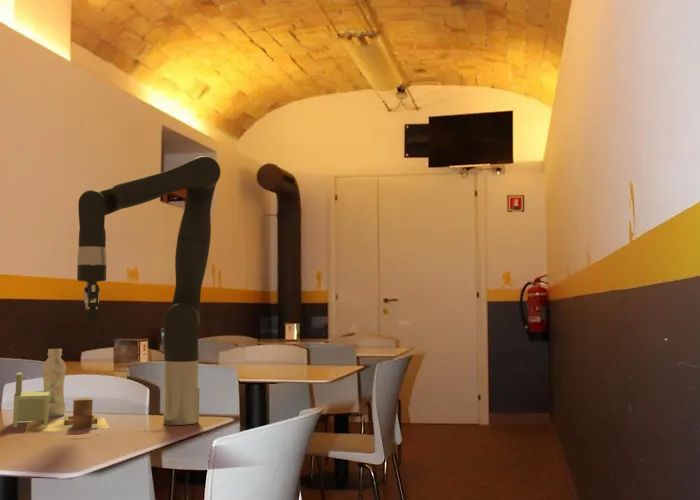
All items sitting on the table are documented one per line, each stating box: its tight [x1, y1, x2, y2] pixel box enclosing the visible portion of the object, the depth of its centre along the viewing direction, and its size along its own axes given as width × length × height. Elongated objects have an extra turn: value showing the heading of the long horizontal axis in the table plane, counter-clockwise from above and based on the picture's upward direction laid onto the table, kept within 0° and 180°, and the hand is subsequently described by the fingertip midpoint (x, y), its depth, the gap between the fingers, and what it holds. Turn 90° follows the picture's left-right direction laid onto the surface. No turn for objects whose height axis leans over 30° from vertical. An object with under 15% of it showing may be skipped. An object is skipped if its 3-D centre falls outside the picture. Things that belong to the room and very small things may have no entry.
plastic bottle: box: [41, 348, 67, 418], centre depth 217 cm, size 6×7×20 cm
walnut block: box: [72, 397, 94, 428], centre depth 195 cm, size 4×4×7 cm
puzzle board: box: [25, 414, 110, 438], centre depth 199 cm, size 20×20×2 cm
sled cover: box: [12, 371, 49, 428], centre depth 200 cm, size 8×11×13 cm
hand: (91, 323), depth 204 cm, fingers open, 8 cm apart
